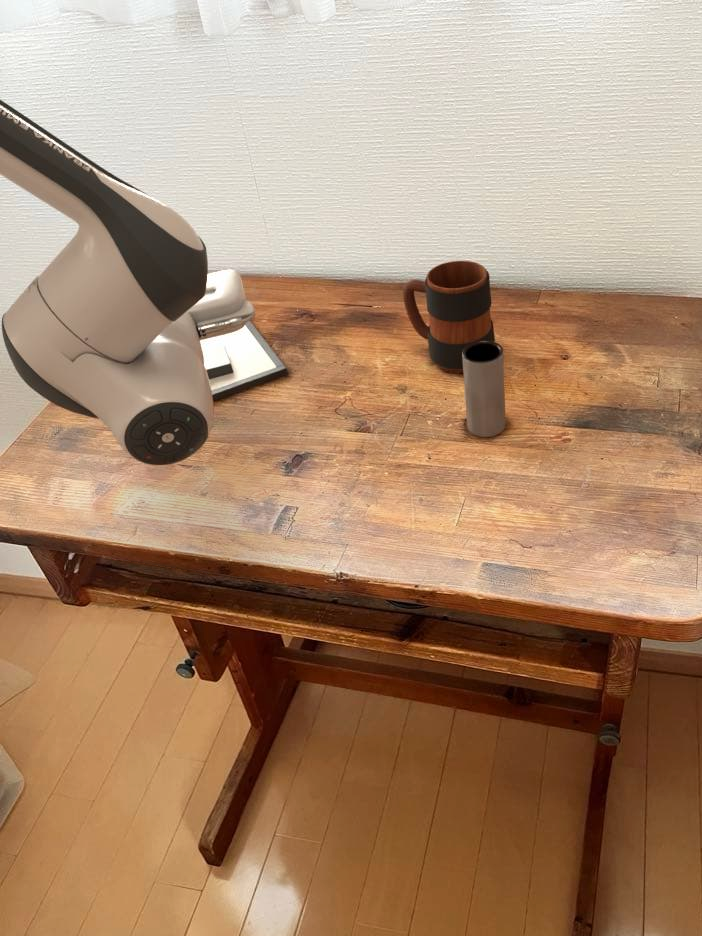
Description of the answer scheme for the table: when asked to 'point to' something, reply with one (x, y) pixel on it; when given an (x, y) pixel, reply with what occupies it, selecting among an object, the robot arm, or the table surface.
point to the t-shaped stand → (217, 362)
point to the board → (244, 361)
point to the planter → (484, 388)
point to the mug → (452, 310)
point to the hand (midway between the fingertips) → (144, 283)
